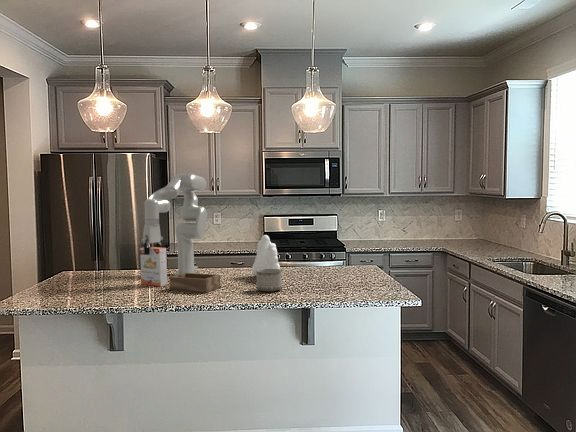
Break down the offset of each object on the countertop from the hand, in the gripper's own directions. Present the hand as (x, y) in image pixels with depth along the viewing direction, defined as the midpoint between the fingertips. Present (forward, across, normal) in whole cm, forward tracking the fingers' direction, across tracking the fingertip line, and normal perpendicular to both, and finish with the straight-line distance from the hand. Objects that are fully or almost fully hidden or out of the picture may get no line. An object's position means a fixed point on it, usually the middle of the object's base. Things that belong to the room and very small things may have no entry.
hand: (152, 253), depth 280 cm
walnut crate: (+18, +1, +28) cm, 33 cm away
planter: (+18, -9, +66) cm, 69 cm away
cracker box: (+18, -1, 0) cm, 18 cm away
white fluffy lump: (+17, -38, +51) cm, 66 cm away
